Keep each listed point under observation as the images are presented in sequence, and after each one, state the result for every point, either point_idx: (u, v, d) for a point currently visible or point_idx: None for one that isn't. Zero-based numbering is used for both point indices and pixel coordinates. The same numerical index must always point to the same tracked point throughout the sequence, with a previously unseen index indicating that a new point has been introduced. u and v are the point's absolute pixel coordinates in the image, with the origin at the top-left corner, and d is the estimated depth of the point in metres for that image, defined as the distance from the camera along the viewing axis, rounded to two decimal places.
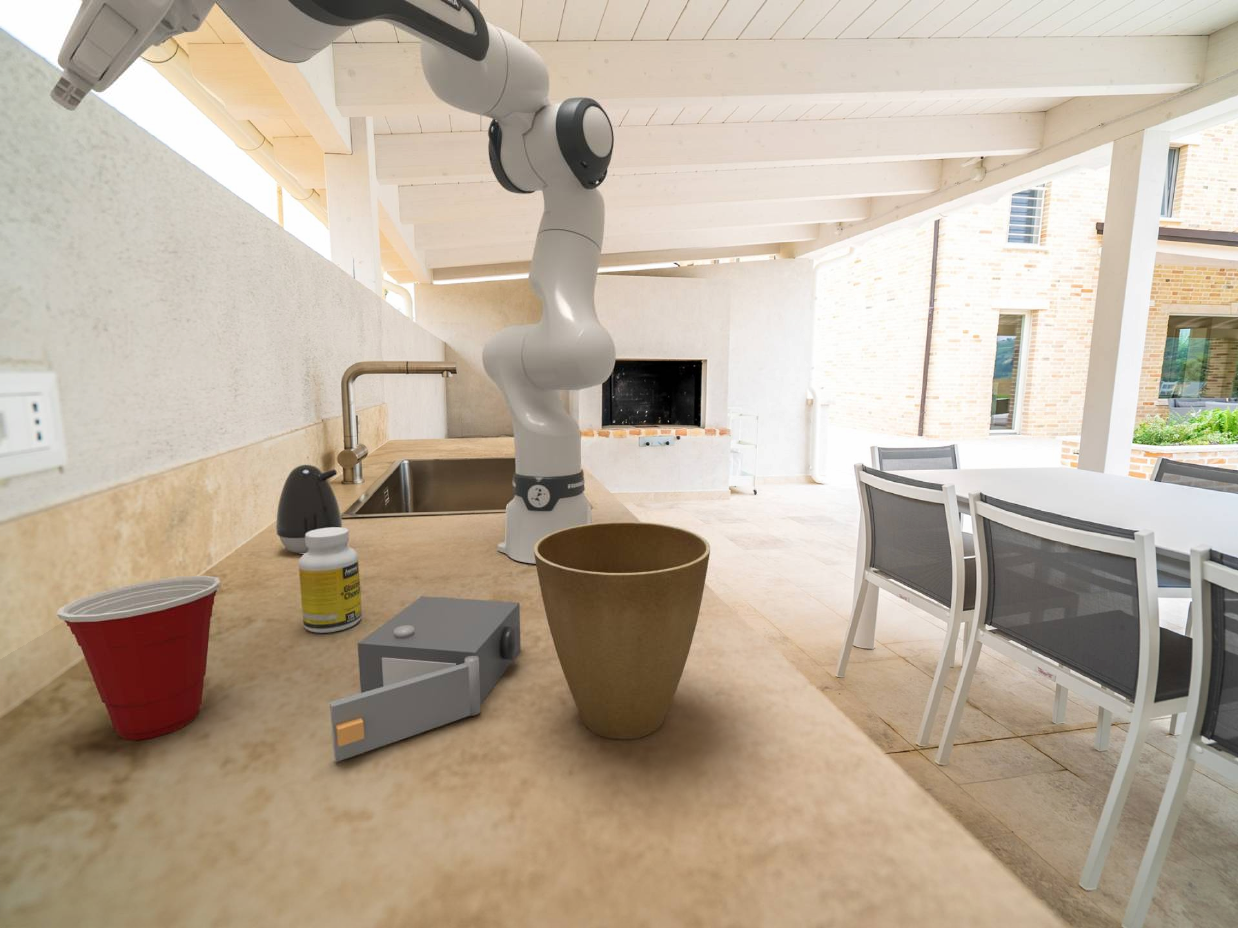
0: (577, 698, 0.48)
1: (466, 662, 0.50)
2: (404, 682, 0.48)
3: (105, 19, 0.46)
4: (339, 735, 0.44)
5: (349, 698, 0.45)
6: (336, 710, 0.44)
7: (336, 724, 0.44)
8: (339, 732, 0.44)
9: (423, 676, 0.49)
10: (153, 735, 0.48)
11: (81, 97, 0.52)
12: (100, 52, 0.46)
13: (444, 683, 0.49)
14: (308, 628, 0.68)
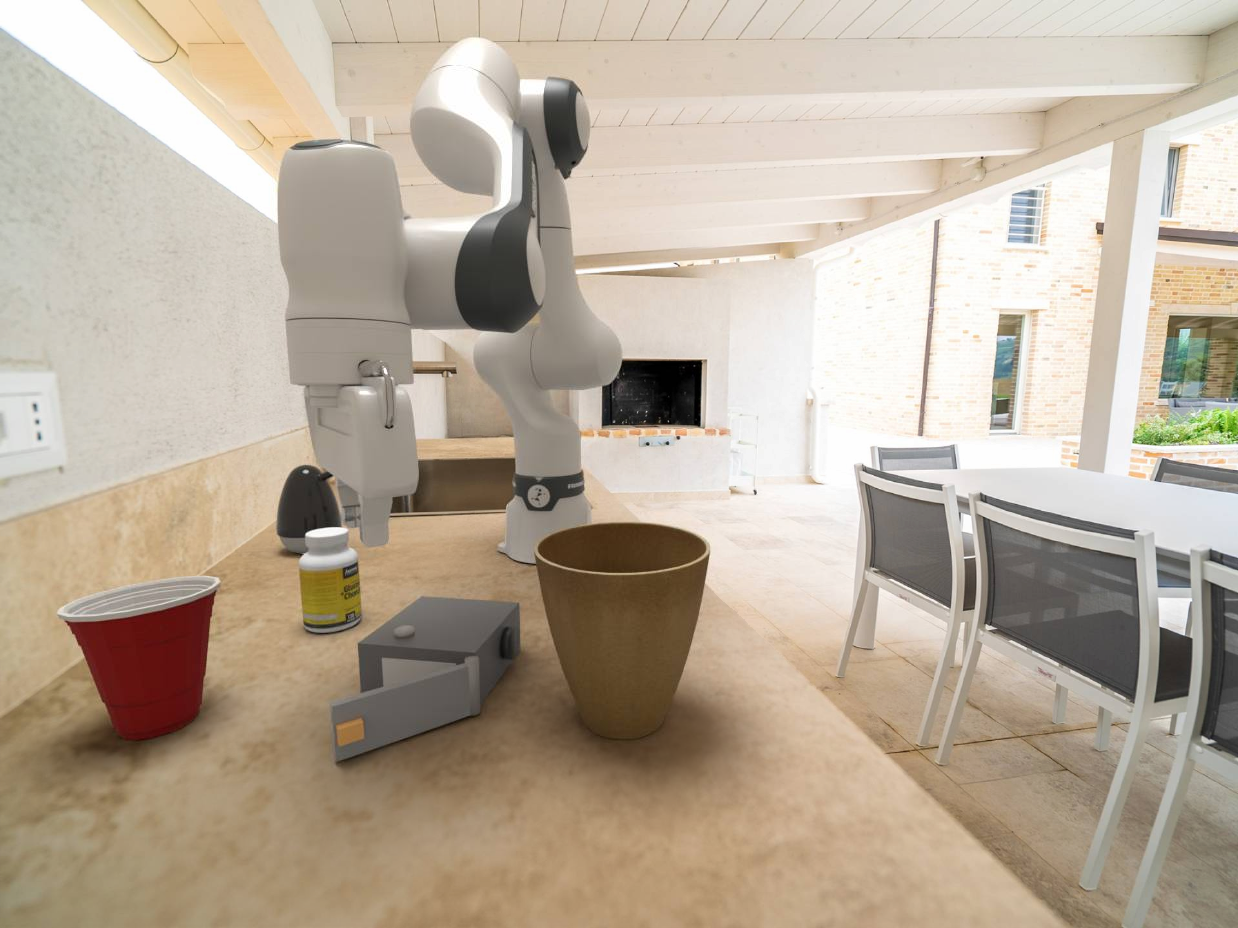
0: (577, 698, 0.48)
1: (466, 662, 0.50)
2: (404, 682, 0.48)
3: (368, 502, 0.42)
4: (339, 735, 0.44)
5: (349, 698, 0.45)
6: (336, 710, 0.44)
7: (336, 724, 0.44)
8: (339, 732, 0.44)
9: (423, 676, 0.49)
10: (153, 735, 0.48)
11: None
12: (378, 526, 0.44)
13: (444, 683, 0.49)
14: (308, 628, 0.68)
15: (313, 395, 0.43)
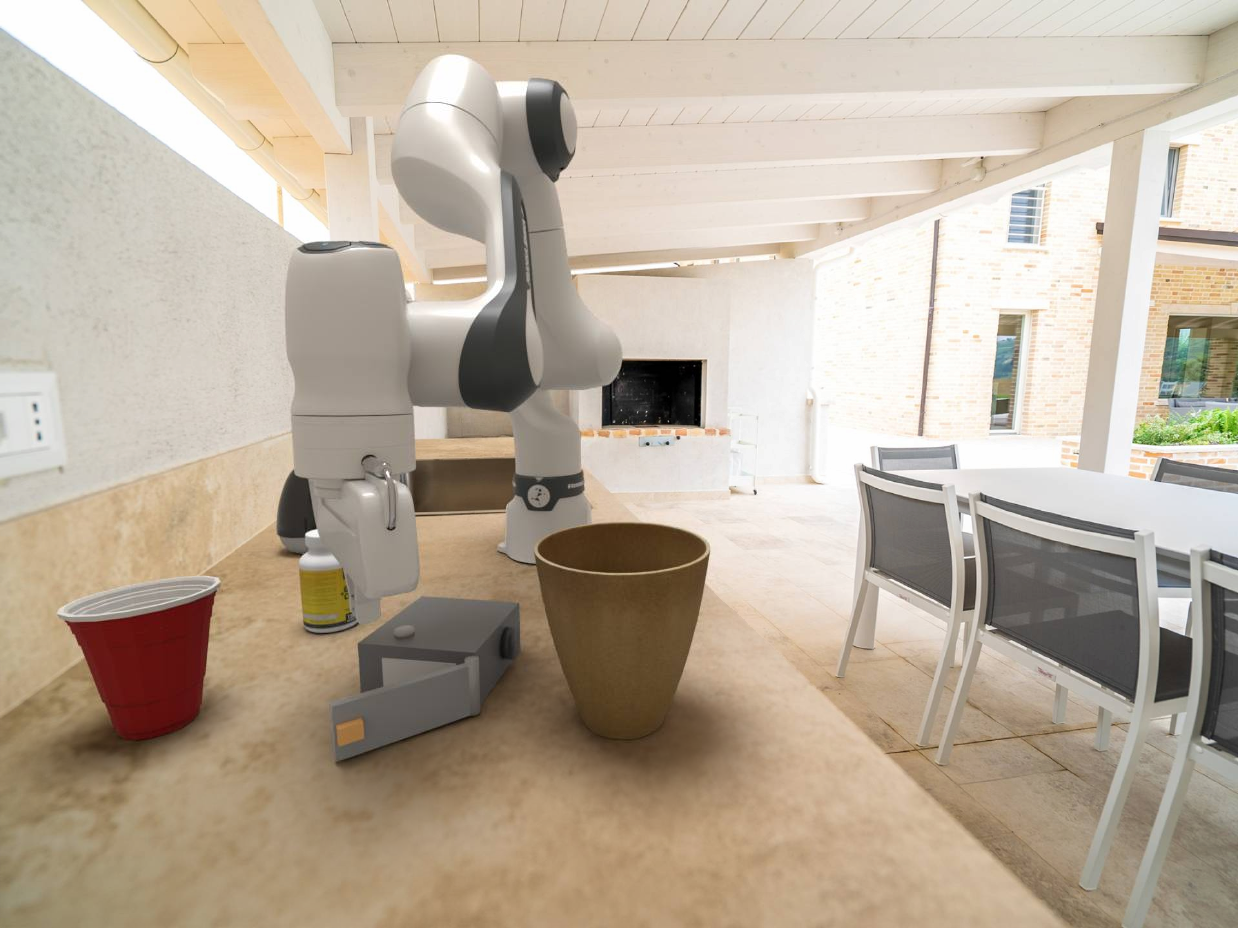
0: (577, 698, 0.48)
1: (466, 662, 0.50)
2: (404, 682, 0.48)
3: None
4: (339, 735, 0.44)
5: (349, 698, 0.45)
6: (336, 710, 0.44)
7: (336, 724, 0.44)
8: (339, 732, 0.44)
9: (423, 676, 0.49)
10: (153, 735, 0.48)
11: None
12: (370, 604, 0.46)
13: (444, 683, 0.49)
14: (308, 628, 0.68)
15: (317, 486, 0.44)
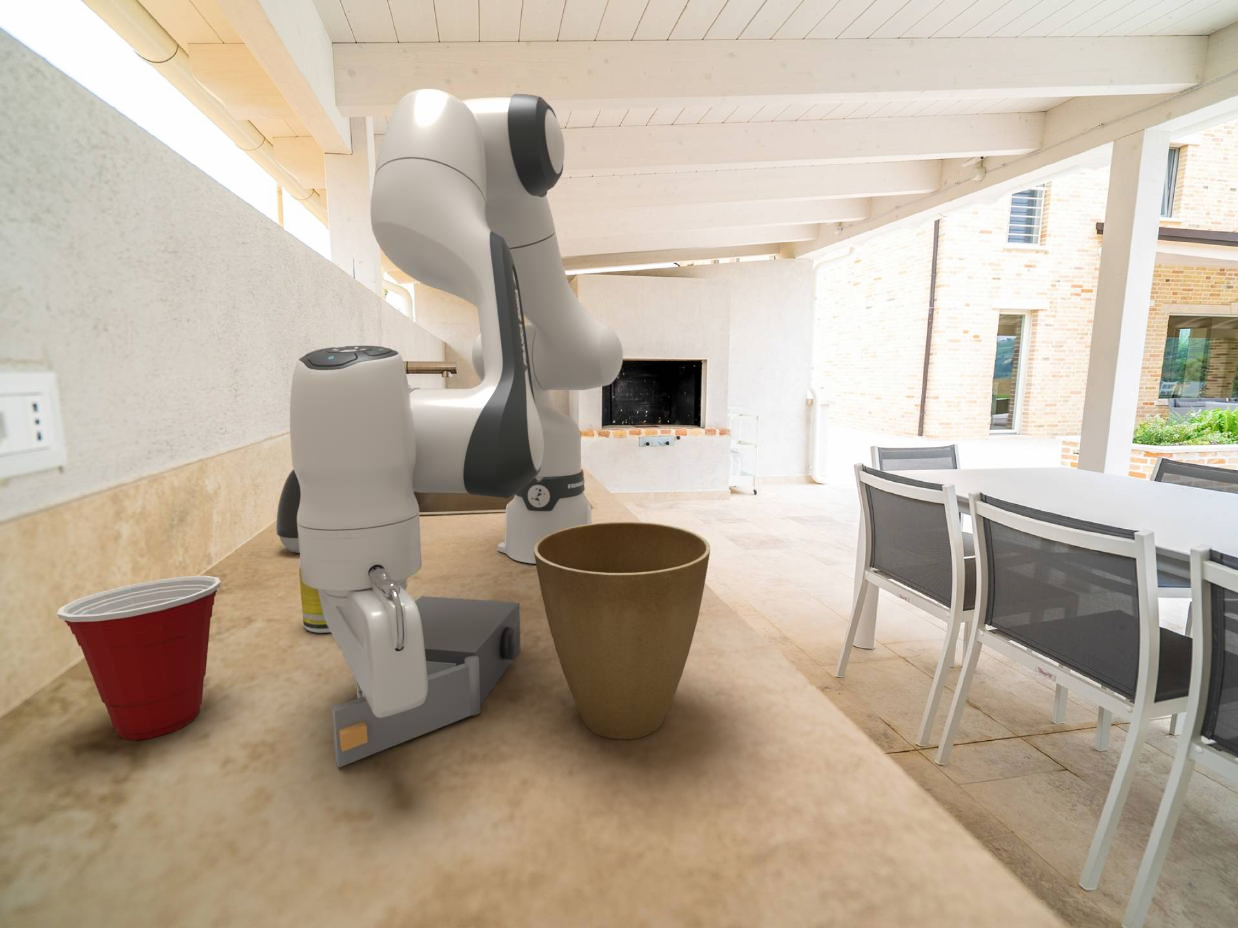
0: (577, 698, 0.48)
1: (466, 662, 0.50)
2: None
3: None
4: (342, 739, 0.43)
5: (351, 702, 0.45)
6: (339, 715, 0.44)
7: (339, 729, 0.44)
8: (343, 736, 0.43)
9: None
10: (153, 735, 0.48)
11: None
12: None
13: (445, 684, 0.49)
14: (308, 628, 0.68)
15: (324, 591, 0.44)
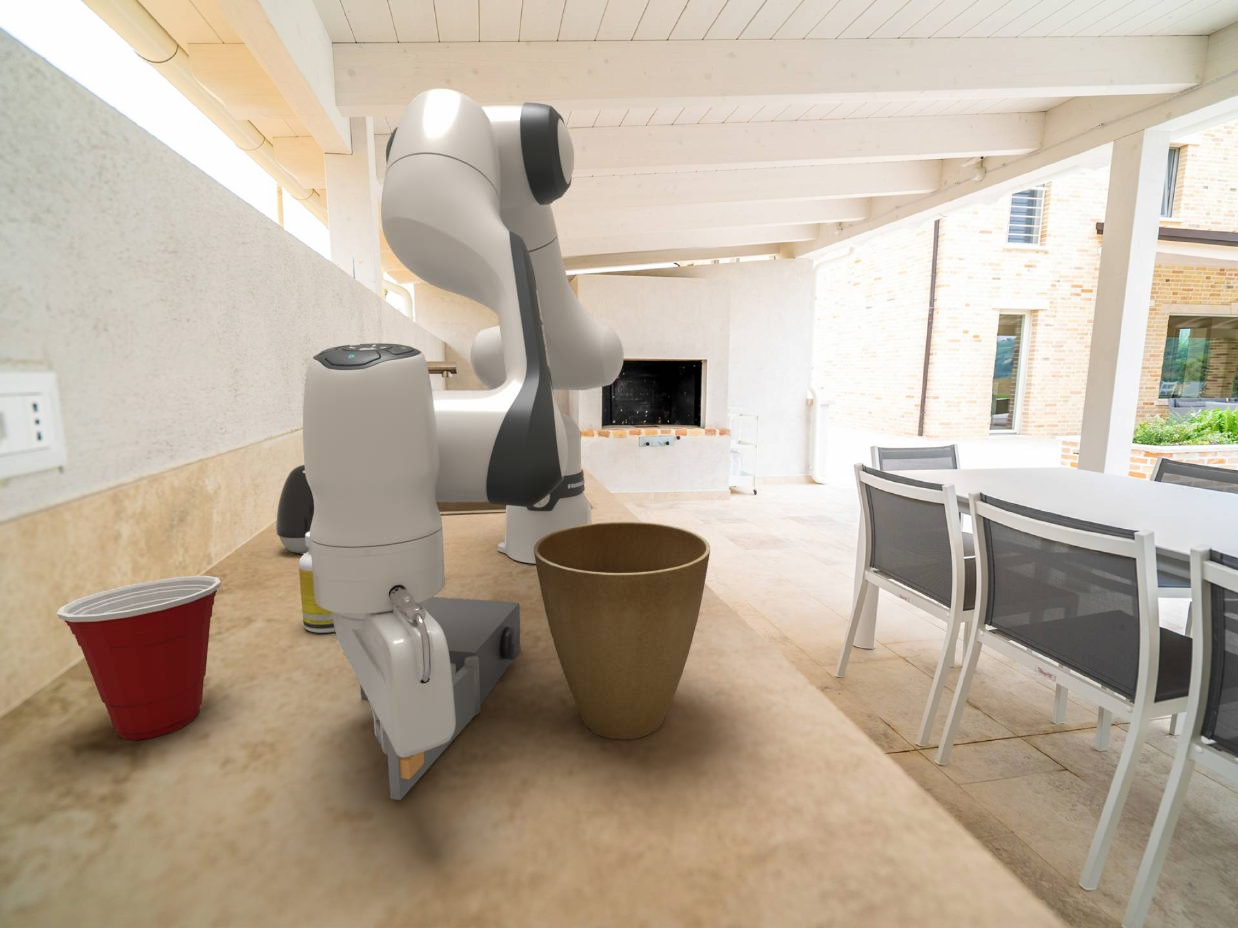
0: (577, 698, 0.48)
1: (470, 663, 0.50)
2: None
3: None
4: (409, 766, 0.40)
5: None
6: None
7: (400, 758, 0.40)
8: (409, 762, 0.40)
9: None
10: (153, 735, 0.48)
11: None
12: None
13: (461, 688, 0.49)
14: (308, 628, 0.68)
15: (339, 613, 0.40)
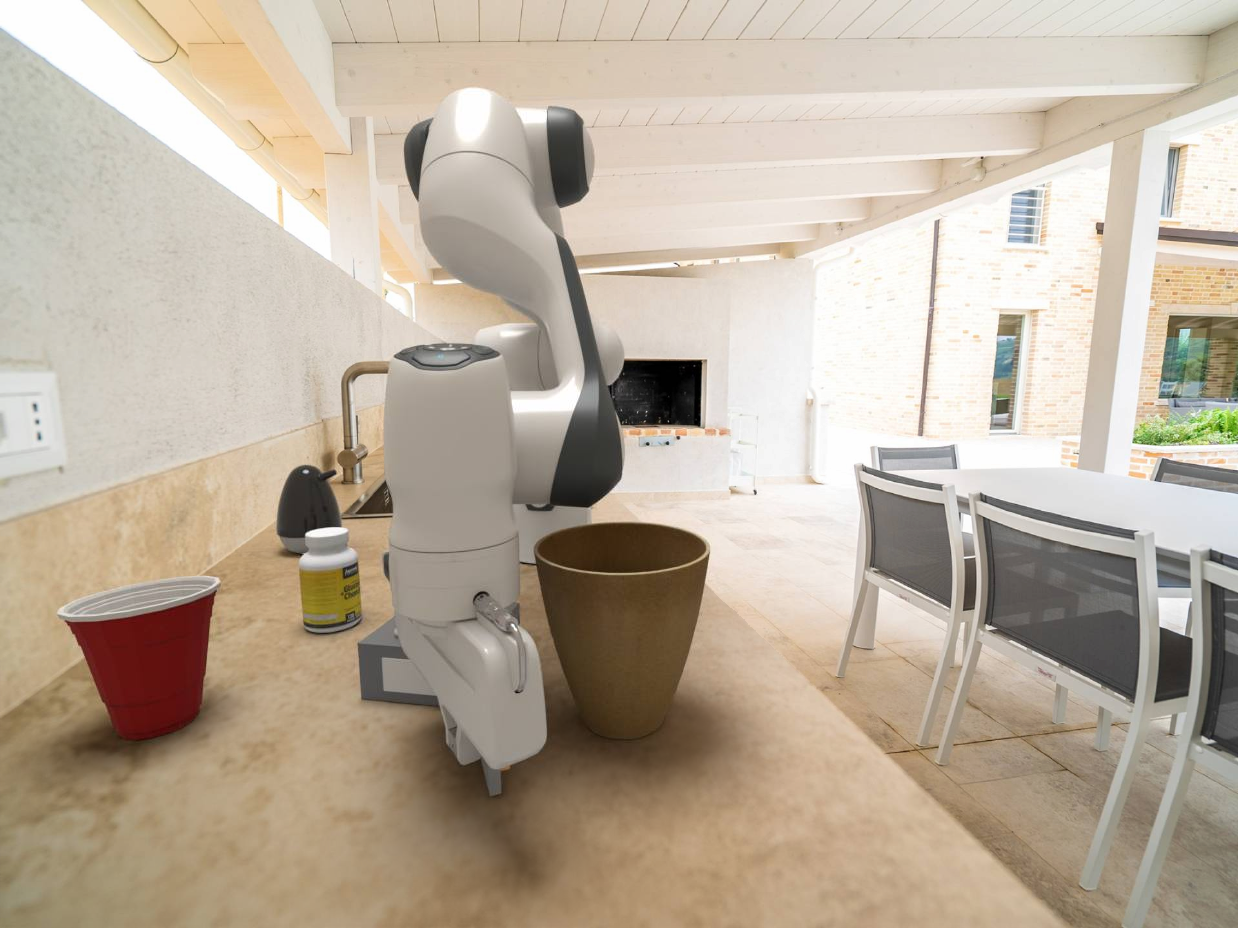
0: (577, 698, 0.48)
1: None
2: None
3: None
4: None
5: None
6: None
7: None
8: None
9: None
10: (153, 735, 0.48)
11: None
12: None
13: None
14: (308, 628, 0.68)
15: (418, 620, 0.39)
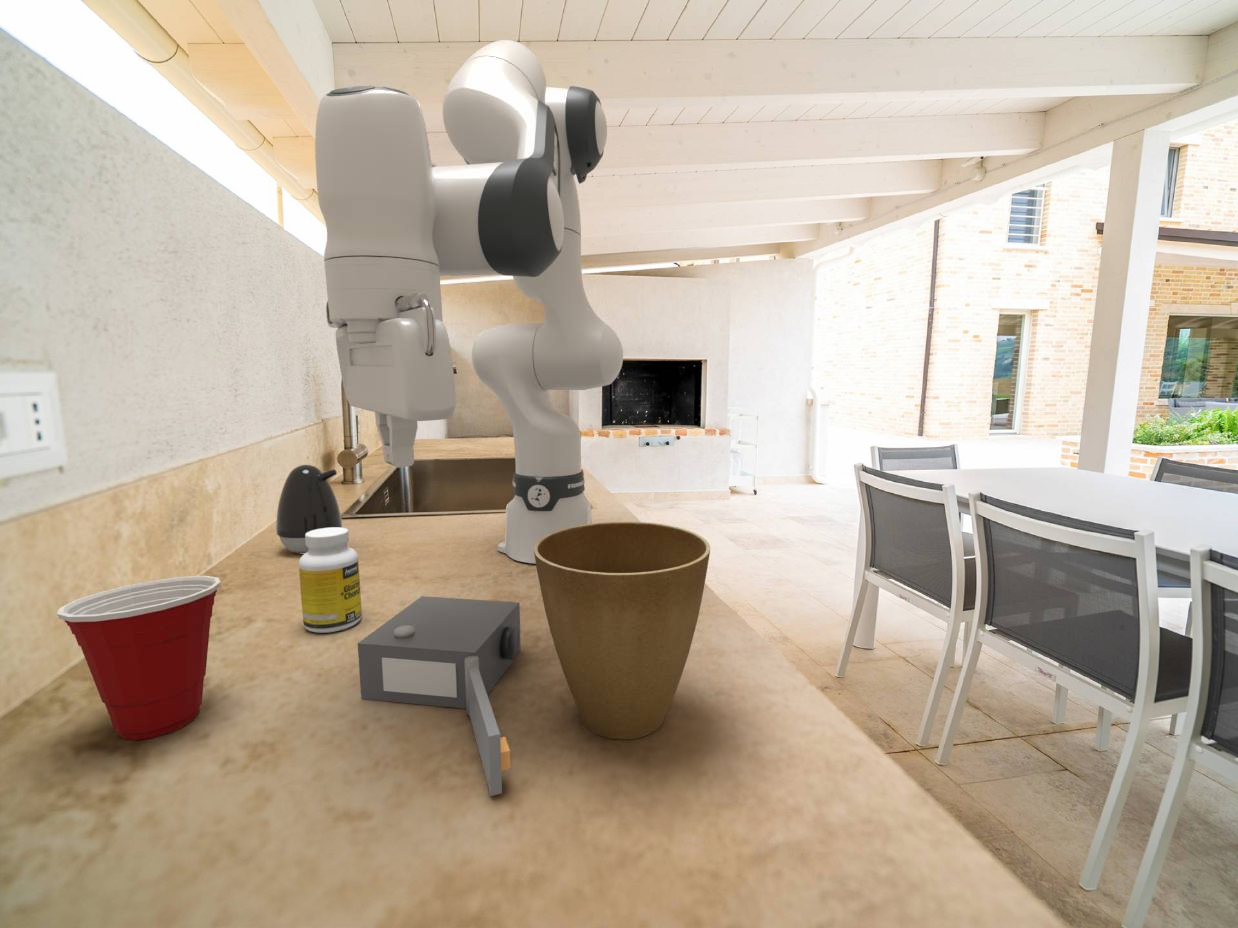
0: (577, 698, 0.48)
1: (474, 662, 0.51)
2: (480, 696, 0.46)
3: (397, 426, 0.48)
4: None
5: (489, 725, 0.42)
6: (499, 736, 0.41)
7: None
8: (509, 752, 0.42)
9: (477, 686, 0.47)
10: (153, 735, 0.48)
11: None
12: (404, 449, 0.49)
13: None
14: (308, 628, 0.68)
15: (352, 331, 0.46)
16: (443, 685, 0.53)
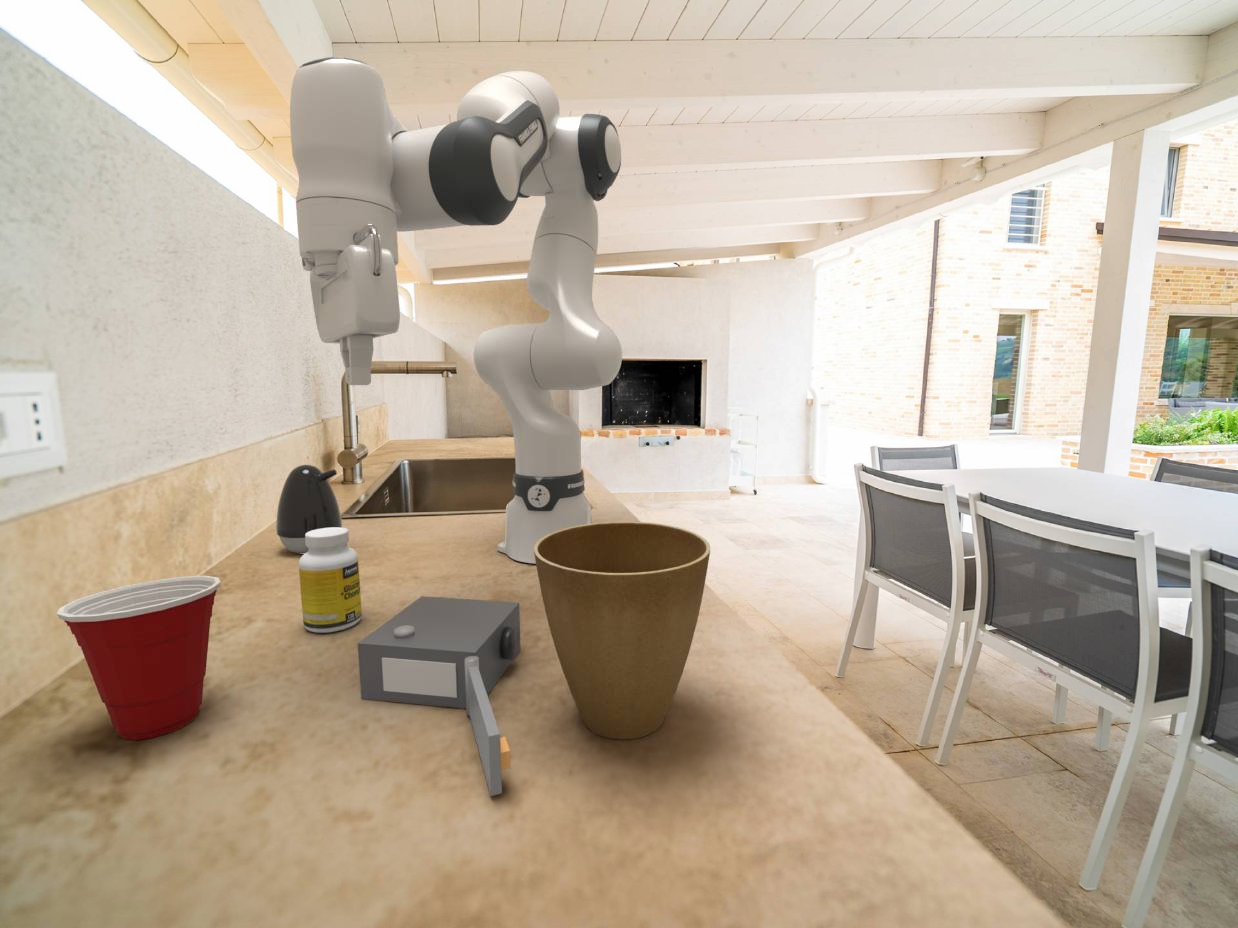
0: (577, 698, 0.48)
1: (474, 662, 0.51)
2: (480, 696, 0.46)
3: (355, 347, 0.56)
4: None
5: (489, 725, 0.42)
6: (499, 736, 0.41)
7: None
8: (509, 752, 0.42)
9: (477, 686, 0.47)
10: (153, 735, 0.48)
11: None
12: (362, 369, 0.57)
13: None
14: (308, 628, 0.68)
15: (318, 264, 0.55)
16: (443, 685, 0.53)
